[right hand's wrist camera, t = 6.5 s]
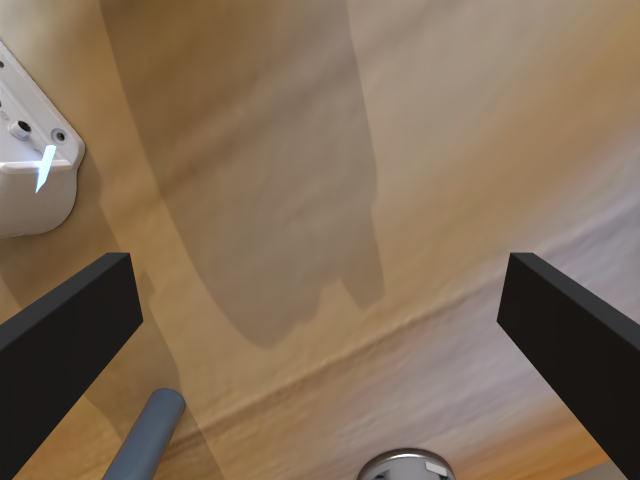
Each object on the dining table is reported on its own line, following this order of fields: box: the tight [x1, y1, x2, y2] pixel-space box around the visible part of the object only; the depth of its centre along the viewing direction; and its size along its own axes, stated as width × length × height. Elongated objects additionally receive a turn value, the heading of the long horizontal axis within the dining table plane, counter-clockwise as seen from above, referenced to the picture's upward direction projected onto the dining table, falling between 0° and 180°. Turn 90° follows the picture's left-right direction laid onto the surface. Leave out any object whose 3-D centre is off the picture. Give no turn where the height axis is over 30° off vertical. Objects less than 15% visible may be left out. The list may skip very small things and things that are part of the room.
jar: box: [101, 389, 185, 480], centre depth 43 cm, size 5×5×15 cm
